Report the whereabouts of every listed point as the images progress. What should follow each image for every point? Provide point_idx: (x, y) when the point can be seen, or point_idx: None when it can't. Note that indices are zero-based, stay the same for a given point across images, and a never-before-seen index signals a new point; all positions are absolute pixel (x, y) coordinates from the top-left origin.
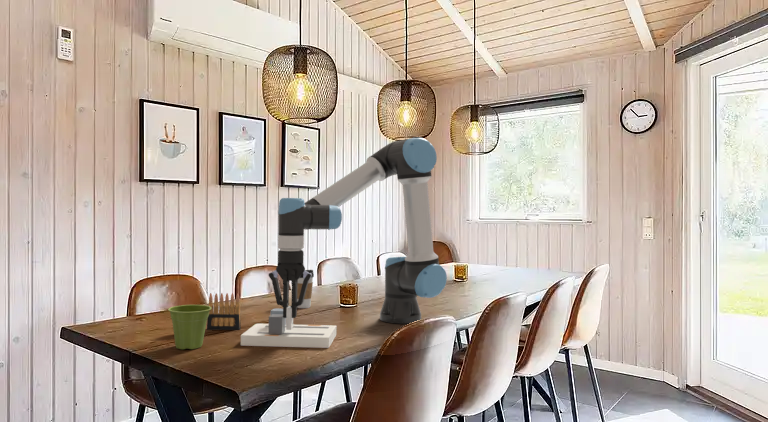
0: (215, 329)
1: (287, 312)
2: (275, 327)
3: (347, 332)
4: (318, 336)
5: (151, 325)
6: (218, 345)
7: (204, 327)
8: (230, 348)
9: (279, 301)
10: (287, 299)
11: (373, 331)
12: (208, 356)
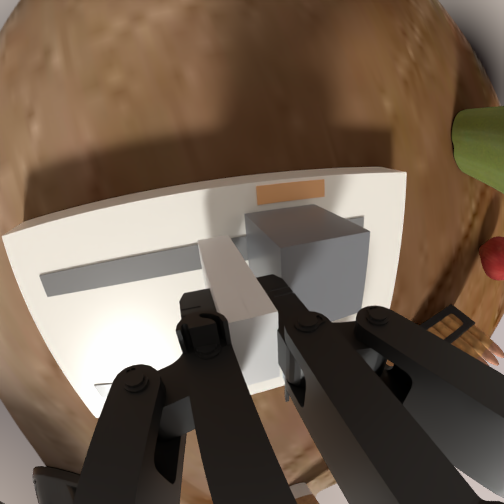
0: (440, 312)
1: (252, 289)
2: (294, 217)
3: (90, 417)
4: (46, 241)
5: (497, 289)
6: (427, 161)
7: (492, 143)
8: (394, 125)
9: (382, 329)
10: (311, 394)
11: (43, 427)
12: (408, 40)
